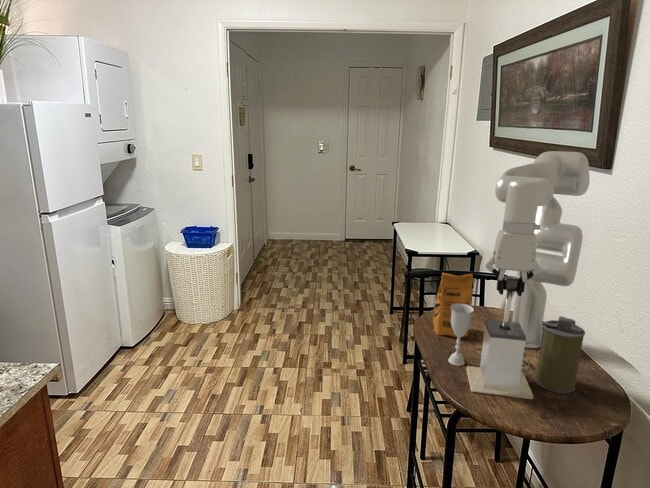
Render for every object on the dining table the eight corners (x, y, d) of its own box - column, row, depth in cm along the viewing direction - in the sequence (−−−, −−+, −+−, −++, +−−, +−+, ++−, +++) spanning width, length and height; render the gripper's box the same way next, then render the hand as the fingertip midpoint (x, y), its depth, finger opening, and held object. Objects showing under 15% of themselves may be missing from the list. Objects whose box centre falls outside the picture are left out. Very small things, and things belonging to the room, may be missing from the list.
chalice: (469, 368, 134) (475, 313, 129) (446, 365, 135) (451, 311, 131) (466, 356, 141) (472, 304, 136) (444, 354, 142) (449, 302, 138)
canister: (575, 380, 129) (587, 316, 124) (574, 398, 120) (586, 330, 115) (535, 369, 134) (544, 308, 129) (531, 386, 125) (540, 321, 120)
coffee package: (431, 324, 164) (436, 268, 159) (466, 327, 162) (472, 270, 157) (433, 336, 155) (438, 276, 149) (470, 339, 153) (476, 279, 147)
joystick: (522, 375, 131) (530, 321, 126) (532, 399, 119) (541, 340, 115) (466, 368, 134) (472, 315, 130) (471, 391, 122) (477, 334, 118)
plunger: (510, 347, 126) (520, 275, 120) (515, 357, 120) (525, 282, 115) (489, 345, 127) (498, 274, 121) (492, 355, 121) (502, 280, 116)
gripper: (548, 226, 117) (538, 291, 121) (482, 223, 120) (475, 286, 124) (557, 232, 110) (546, 301, 114) (486, 228, 113) (479, 295, 117)
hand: (509, 293), depth 119 cm, fingers closed on plunger, 4 cm apart
